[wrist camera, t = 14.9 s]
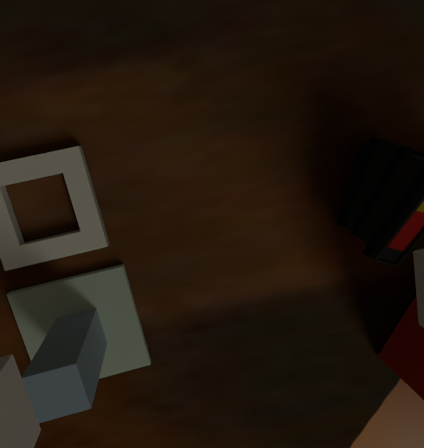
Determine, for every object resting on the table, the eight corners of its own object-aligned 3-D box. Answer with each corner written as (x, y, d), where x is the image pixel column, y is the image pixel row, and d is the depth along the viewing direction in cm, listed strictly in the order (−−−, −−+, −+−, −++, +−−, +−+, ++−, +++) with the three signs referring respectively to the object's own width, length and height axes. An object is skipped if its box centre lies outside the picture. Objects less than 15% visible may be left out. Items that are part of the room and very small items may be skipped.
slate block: (56, 318, 45) (21, 378, 34) (96, 308, 46) (76, 363, 34) (68, 353, 47) (38, 423, 35) (107, 343, 47) (91, 408, 35)
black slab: (401, 122, 46) (471, 183, 34) (347, 206, 53) (389, 281, 41) (375, 113, 45) (437, 173, 33) (324, 200, 53) (360, 274, 41)
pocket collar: (-26, 168, 41) (-33, 169, 40) (81, 145, 43) (78, 146, 41) (9, 266, 44) (4, 271, 43) (109, 243, 45) (107, 246, 44)
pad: (9, 291, 45) (6, 294, 44) (123, 263, 46) (122, 266, 45) (45, 388, 48) (43, 393, 47) (150, 360, 49) (150, 364, 49)
